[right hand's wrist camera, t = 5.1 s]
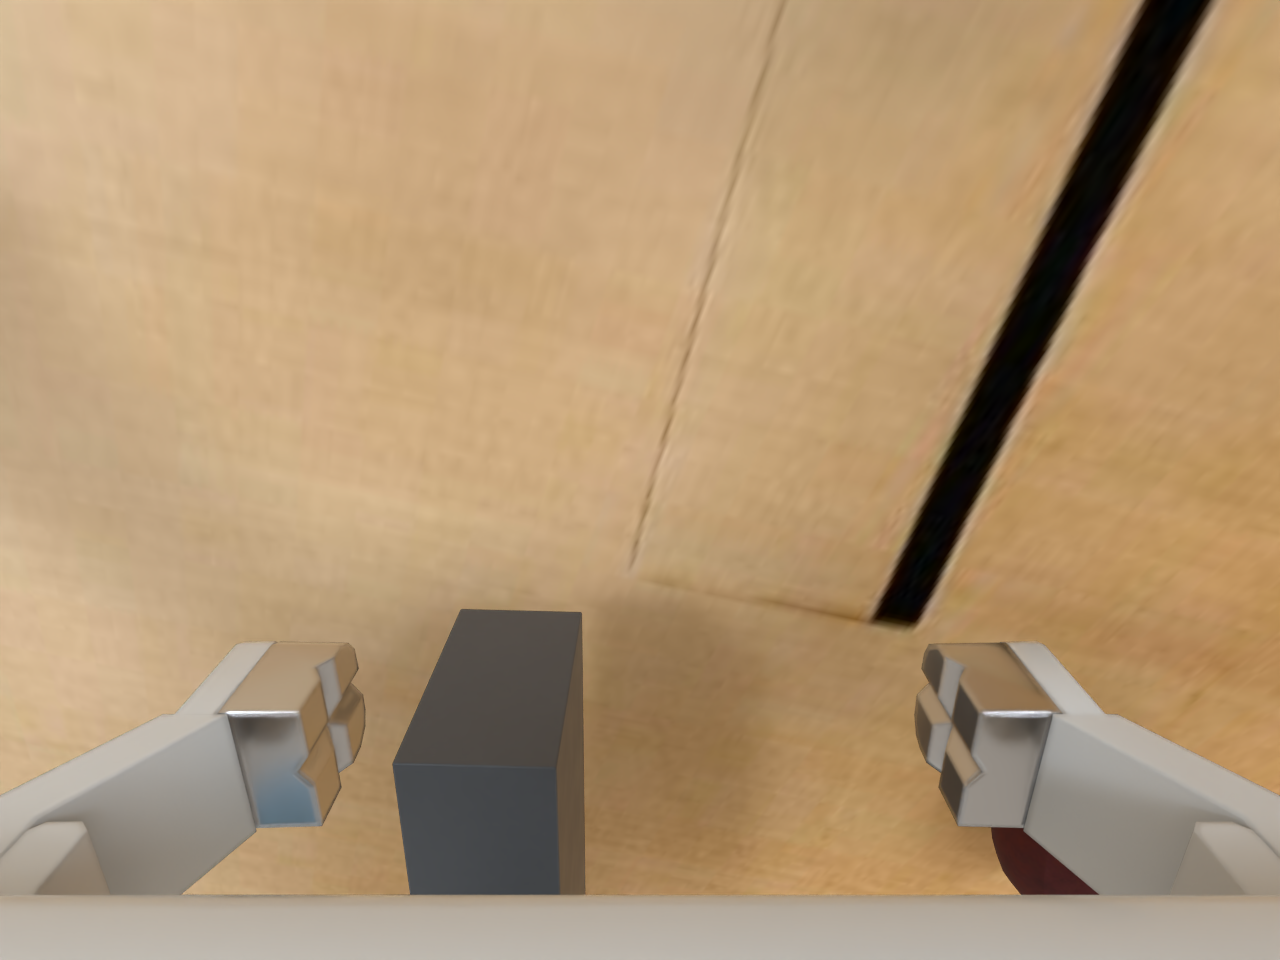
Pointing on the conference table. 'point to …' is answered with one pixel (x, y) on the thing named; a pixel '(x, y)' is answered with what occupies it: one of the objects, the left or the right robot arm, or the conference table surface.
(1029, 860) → the dark red plum
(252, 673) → the right robot arm
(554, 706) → the bar
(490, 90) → the conference table surface
